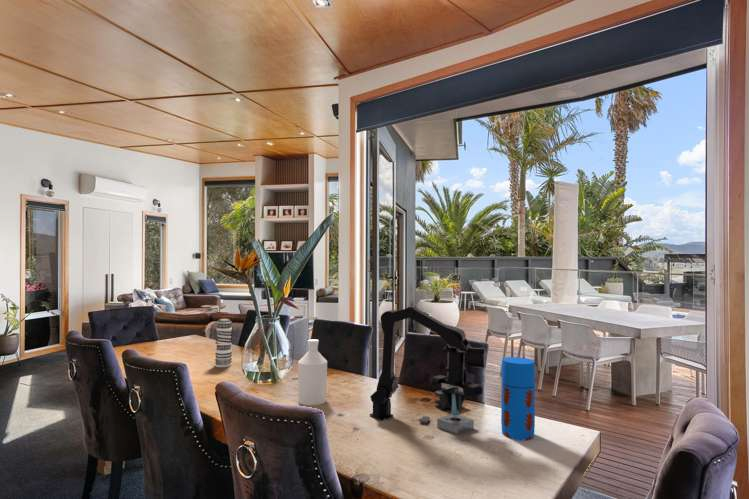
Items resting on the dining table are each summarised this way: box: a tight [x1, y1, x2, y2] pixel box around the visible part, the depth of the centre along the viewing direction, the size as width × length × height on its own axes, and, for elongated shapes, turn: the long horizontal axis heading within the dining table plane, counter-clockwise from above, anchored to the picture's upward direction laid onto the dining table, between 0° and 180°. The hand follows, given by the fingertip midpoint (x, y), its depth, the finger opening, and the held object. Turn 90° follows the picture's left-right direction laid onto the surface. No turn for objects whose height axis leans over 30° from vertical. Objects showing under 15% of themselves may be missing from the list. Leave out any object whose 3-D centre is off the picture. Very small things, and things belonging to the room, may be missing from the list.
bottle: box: [297, 338, 328, 406], centre depth 187 cm, size 12×12×25 cm
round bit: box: [451, 393, 460, 415], centre depth 159 cm, size 3×3×7 cm
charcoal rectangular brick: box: [419, 415, 431, 425], centre depth 165 cm, size 5×2×2 cm, turn 161°
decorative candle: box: [214, 318, 234, 368], centre depth 247 cm, size 9×9×25 cm
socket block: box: [436, 413, 475, 436], centre depth 159 cm, size 9×9×3 cm
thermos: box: [500, 356, 536, 441], centre depth 154 cm, size 11×11×25 cm
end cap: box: [434, 388, 459, 411], centre depth 181 cm, size 10×7×7 cm
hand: (455, 409), depth 159 cm, fingers closed on round bit, 3 cm apart
